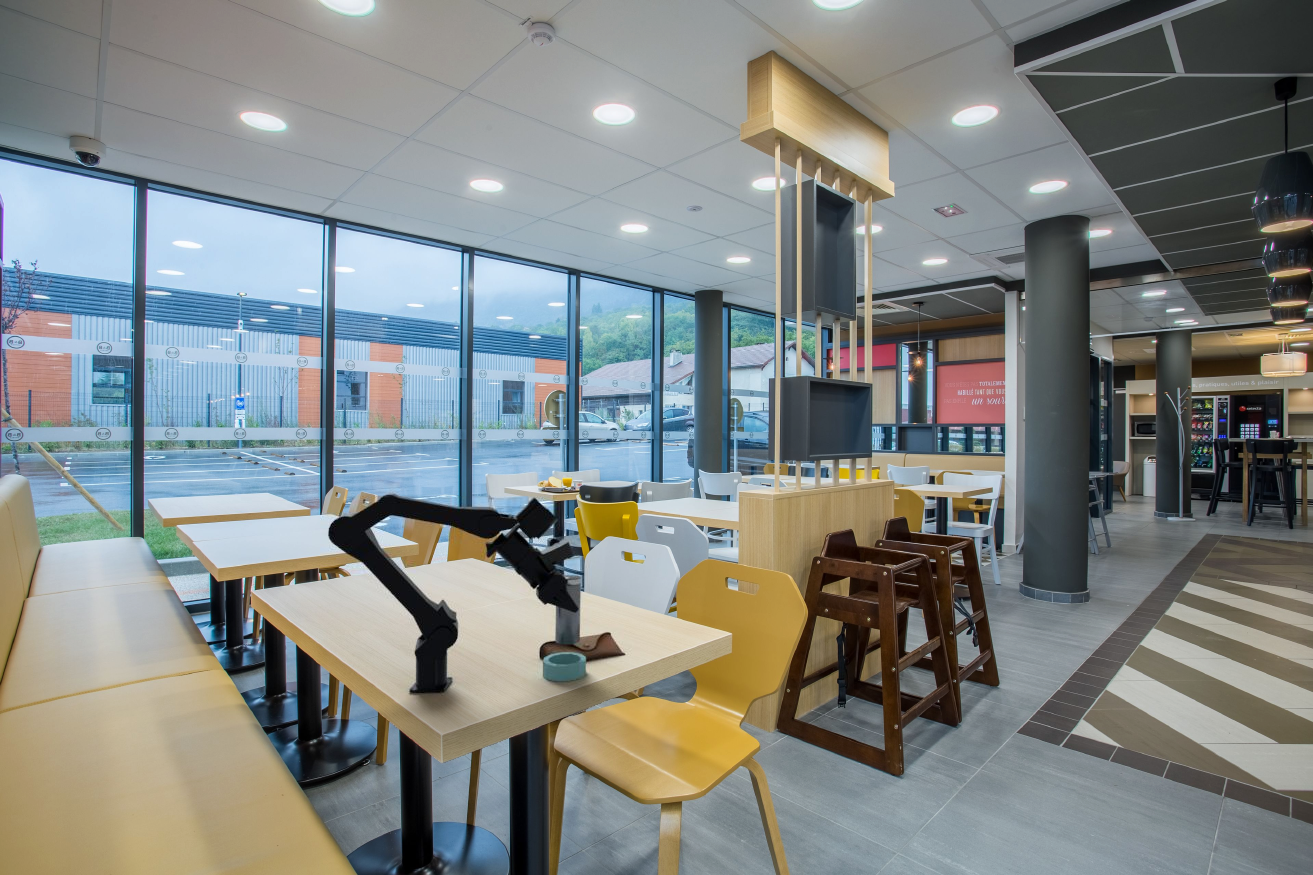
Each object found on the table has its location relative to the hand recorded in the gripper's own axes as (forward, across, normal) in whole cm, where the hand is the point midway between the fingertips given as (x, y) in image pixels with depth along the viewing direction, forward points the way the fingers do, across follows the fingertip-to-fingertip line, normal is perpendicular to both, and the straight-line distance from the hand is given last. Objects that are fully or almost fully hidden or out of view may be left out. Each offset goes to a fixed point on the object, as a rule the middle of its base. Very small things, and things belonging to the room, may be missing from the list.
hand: (574, 607), depth 131 cm
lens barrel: (+4, 0, +6) cm, 7 cm away
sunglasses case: (+13, +10, +7) cm, 17 cm away
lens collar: (+8, 0, +11) cm, 13 cm away
